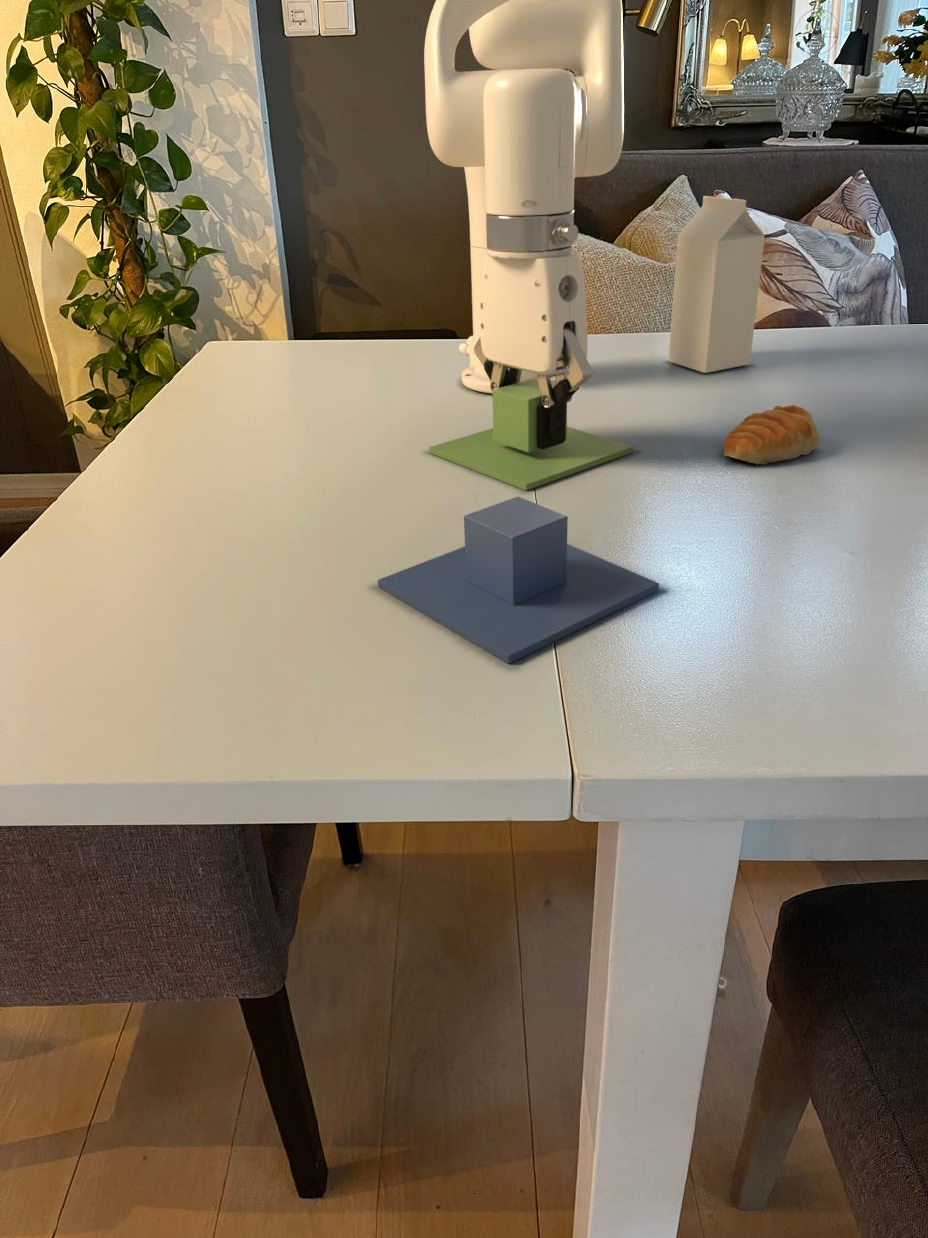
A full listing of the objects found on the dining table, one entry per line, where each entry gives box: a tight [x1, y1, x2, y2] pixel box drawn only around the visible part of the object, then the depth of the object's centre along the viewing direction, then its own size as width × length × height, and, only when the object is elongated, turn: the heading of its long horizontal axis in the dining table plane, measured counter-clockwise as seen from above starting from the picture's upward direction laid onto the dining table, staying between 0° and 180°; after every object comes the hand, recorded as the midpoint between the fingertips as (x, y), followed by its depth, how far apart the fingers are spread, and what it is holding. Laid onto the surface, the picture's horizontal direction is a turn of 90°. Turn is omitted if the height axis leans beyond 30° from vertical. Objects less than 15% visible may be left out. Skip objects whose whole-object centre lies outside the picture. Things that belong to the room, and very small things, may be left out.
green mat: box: [428, 425, 634, 492], centre depth 89 cm, size 14×14×1 cm
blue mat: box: [377, 543, 660, 665], centre depth 65 cm, size 14×14×1 cm
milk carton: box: [668, 195, 766, 374], centre depth 110 cm, size 7×7×19 cm
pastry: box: [723, 404, 821, 466], centre depth 86 cm, size 9×7×4 cm
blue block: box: [463, 496, 569, 605], centre depth 63 cm, size 5×5×5 cm
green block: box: [491, 380, 568, 453], centre depth 87 cm, size 5×5×5 cm
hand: (530, 436), depth 88 cm, fingers closed on green block, 5 cm apart
